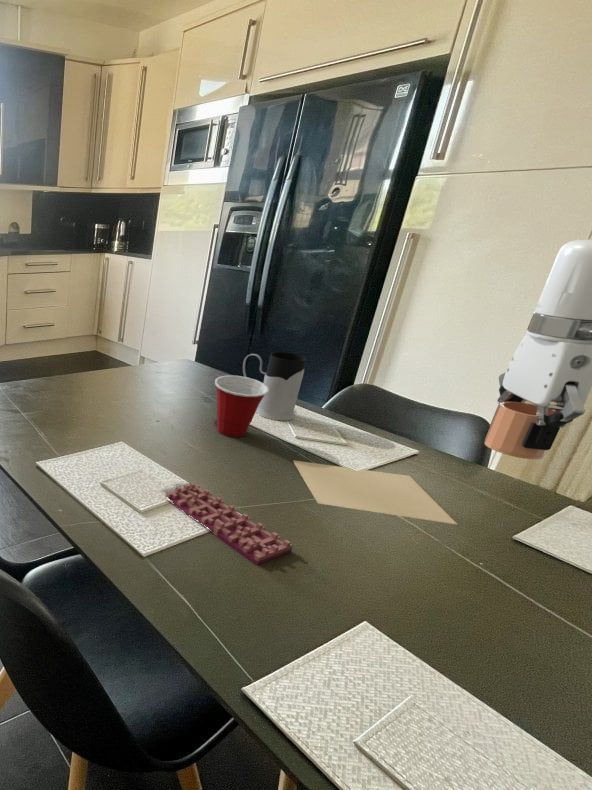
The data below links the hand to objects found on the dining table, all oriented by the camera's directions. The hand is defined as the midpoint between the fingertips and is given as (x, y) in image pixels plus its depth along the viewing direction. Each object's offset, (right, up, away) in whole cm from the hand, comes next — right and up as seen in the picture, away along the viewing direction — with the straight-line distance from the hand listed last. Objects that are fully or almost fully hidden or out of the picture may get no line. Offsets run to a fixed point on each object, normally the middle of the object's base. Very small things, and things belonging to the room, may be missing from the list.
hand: (518, 437), depth 77 cm
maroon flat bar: (-47, -14, +1) cm, 49 cm away
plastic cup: (-29, -2, +34) cm, 45 cm away
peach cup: (0, -2, +1) cm, 2 cm away
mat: (-16, -11, +10) cm, 22 cm away
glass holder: (-15, +3, +46) cm, 49 cm away
